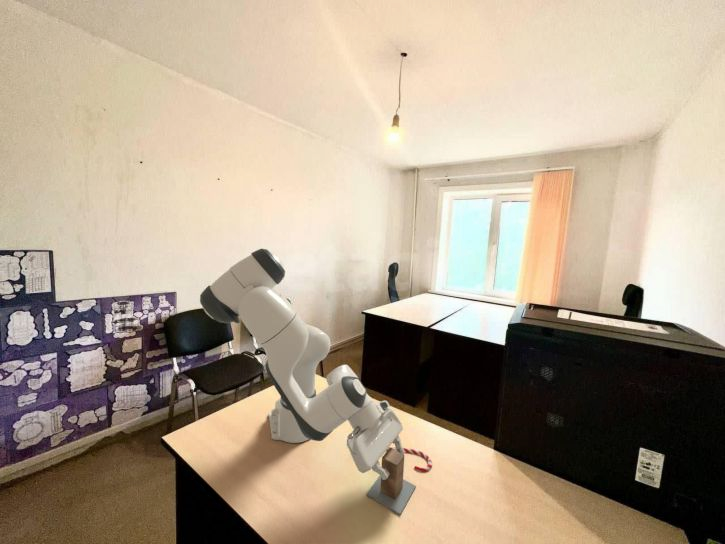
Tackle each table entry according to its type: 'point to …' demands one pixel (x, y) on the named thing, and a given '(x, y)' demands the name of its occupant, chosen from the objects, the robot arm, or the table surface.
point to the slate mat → (387, 501)
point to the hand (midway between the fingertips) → (394, 465)
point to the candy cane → (420, 455)
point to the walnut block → (393, 473)
